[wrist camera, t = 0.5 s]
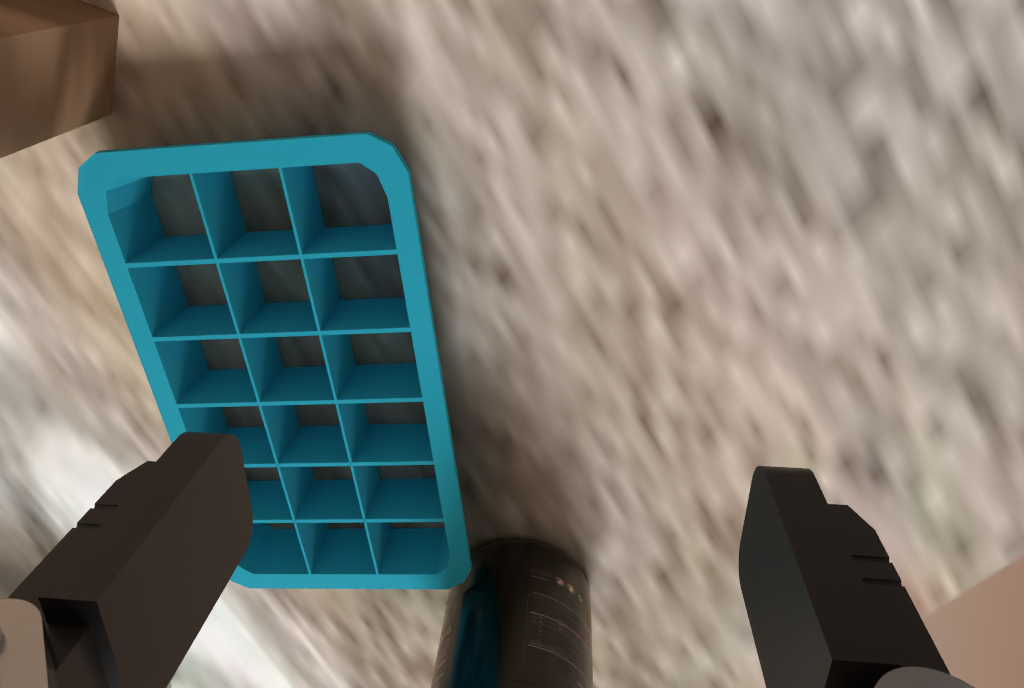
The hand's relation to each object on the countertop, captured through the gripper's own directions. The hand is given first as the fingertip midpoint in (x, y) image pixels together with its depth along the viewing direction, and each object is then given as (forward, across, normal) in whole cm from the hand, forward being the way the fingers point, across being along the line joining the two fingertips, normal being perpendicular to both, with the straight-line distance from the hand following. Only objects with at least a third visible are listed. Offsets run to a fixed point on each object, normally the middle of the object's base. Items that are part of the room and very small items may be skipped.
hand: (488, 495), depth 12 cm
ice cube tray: (+18, +9, +8) cm, 22 cm away
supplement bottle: (+18, 0, +20) cm, 27 cm away
